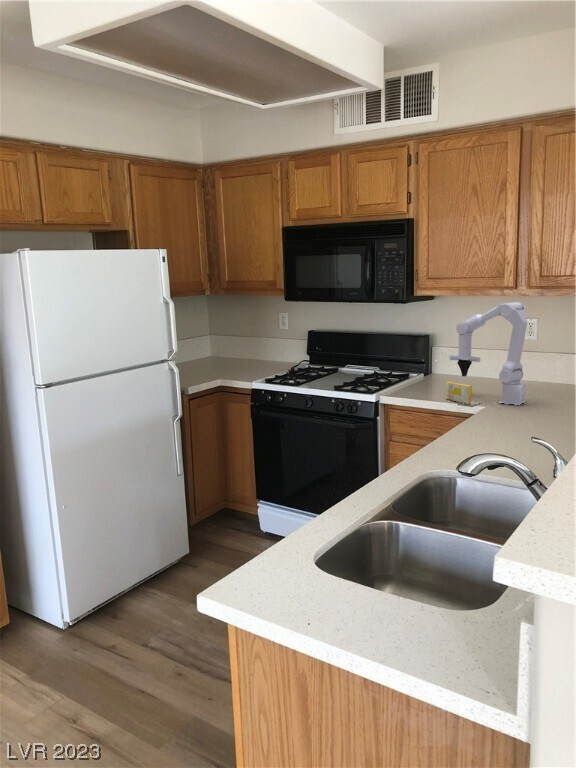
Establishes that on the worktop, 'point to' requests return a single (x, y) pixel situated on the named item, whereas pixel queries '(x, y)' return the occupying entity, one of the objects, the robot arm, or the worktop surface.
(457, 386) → the candy box
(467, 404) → the mat
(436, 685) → the worktop surface
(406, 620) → the worktop surface
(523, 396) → the robot arm
